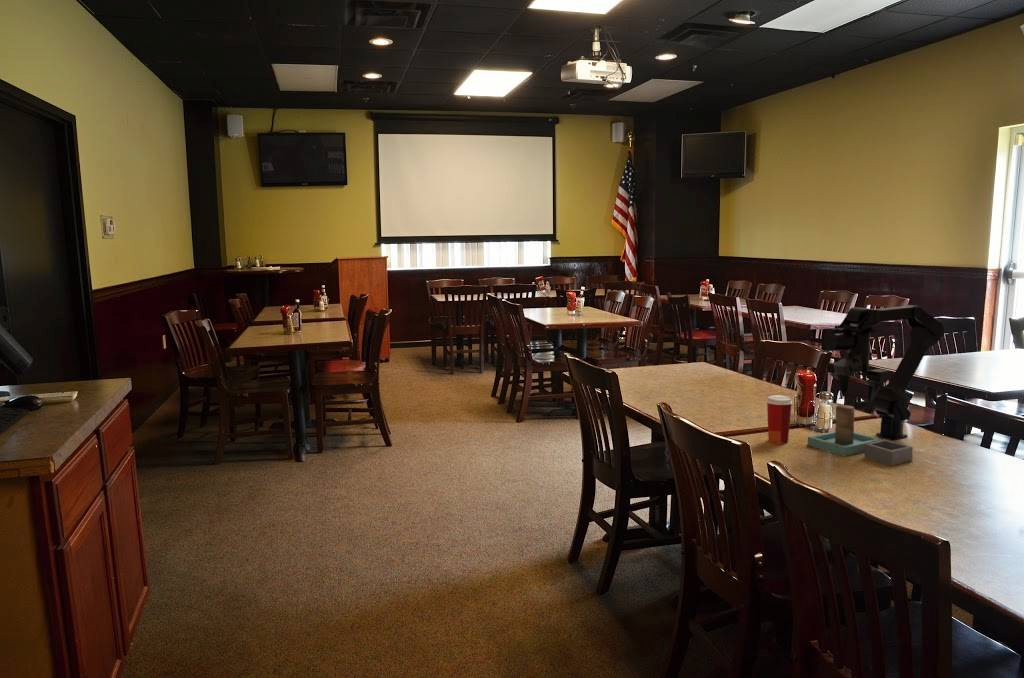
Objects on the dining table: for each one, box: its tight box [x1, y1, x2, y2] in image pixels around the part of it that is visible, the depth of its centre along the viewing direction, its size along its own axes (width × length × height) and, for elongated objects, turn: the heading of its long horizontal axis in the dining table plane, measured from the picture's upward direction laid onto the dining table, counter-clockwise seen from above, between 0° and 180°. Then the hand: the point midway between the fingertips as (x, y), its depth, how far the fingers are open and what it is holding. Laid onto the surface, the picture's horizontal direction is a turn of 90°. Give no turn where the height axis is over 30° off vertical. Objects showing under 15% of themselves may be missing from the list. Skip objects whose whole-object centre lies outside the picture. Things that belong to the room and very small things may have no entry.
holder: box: [863, 439, 914, 467], centre depth 203 cm, size 9×9×4 cm
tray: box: [807, 430, 883, 457], centre depth 216 cm, size 16×13×2 cm
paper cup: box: [765, 394, 794, 445], centre depth 221 cm, size 8×8×14 cm
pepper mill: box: [834, 404, 855, 445], centre depth 215 cm, size 5×5×11 cm
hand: (856, 399), depth 220 cm, fingers open, 9 cm apart
